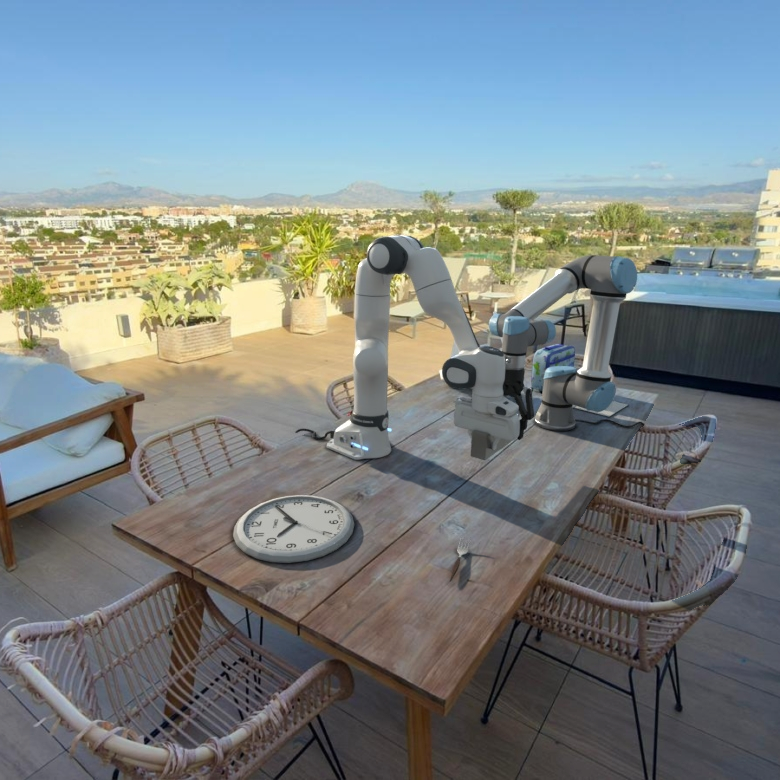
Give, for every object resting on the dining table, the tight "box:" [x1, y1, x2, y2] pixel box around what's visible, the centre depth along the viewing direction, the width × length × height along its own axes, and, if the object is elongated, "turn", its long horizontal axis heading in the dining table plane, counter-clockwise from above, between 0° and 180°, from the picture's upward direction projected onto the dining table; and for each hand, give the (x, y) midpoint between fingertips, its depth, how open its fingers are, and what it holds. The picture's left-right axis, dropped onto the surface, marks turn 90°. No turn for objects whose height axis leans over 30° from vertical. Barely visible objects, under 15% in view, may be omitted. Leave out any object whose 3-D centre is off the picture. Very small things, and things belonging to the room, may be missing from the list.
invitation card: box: [573, 400, 629, 418], centre depth 226 cm, size 21×1×15 cm
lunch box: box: [530, 343, 576, 392], centre depth 248 cm, size 26×11×21 cm, turn 134°
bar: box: [470, 412, 521, 461], centre depth 162 cm, size 23×5×8 cm, turn 143°
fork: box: [449, 535, 471, 582], centre depth 119 cm, size 3×16×2 cm, turn 160°
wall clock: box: [232, 494, 355, 564], centre depth 132 cm, size 30×2×30 cm
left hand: (483, 446), depth 156 cm, fingers closed on bar, 5 cm apart
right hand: (506, 434), depth 168 cm, fingers open, 9 cm apart
